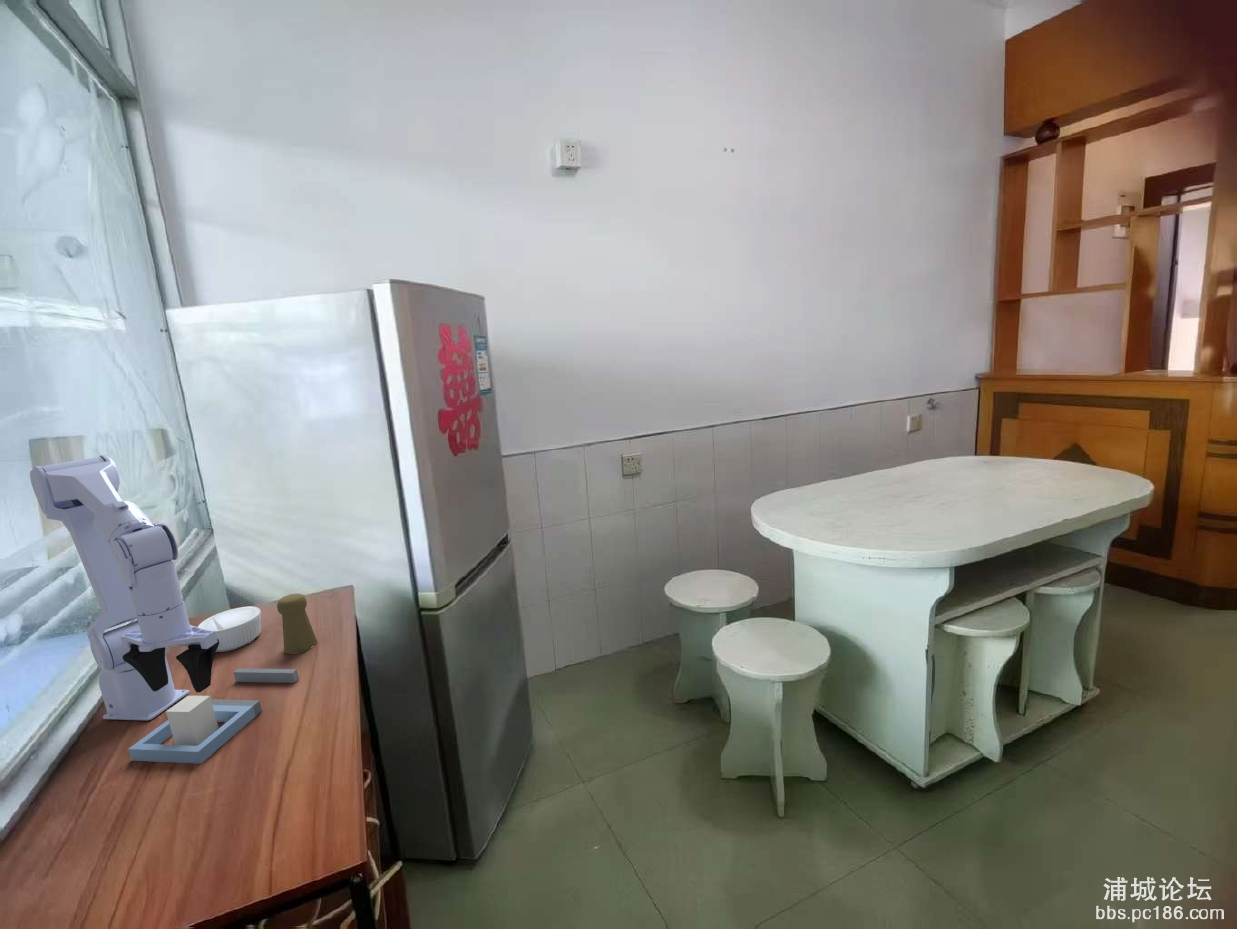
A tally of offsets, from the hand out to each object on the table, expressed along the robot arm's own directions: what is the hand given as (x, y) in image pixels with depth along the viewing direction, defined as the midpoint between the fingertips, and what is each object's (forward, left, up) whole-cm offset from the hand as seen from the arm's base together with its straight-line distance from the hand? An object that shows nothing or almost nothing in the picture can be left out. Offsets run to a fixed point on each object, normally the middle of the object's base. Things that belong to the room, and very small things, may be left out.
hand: (182, 688), depth 90 cm
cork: (-2, +27, -9) cm, 29 cm away
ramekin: (-19, +29, -9) cm, 36 cm away
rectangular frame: (0, +5, -9) cm, 10 cm away
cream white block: (0, 0, -9) cm, 9 cm away
